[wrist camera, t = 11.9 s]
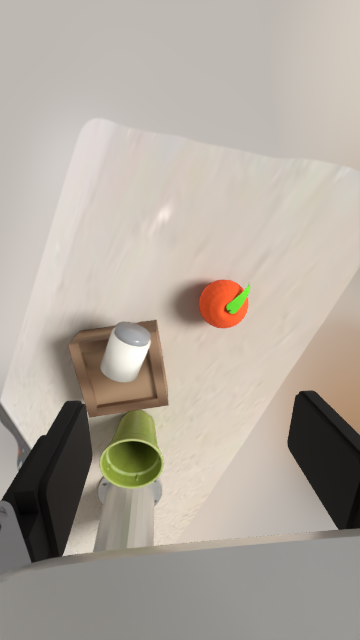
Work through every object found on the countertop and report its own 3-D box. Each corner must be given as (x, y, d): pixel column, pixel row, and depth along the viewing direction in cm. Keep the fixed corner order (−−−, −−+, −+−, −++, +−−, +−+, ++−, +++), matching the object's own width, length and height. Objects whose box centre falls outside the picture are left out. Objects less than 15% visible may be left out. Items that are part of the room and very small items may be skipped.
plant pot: (115, 447, 46) (106, 493, 38) (105, 405, 43) (93, 444, 35) (165, 440, 46) (167, 484, 38) (159, 398, 43) (159, 435, 35)
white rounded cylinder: (142, 382, 32) (158, 344, 30) (103, 381, 29) (118, 339, 27) (132, 359, 36) (146, 324, 34) (97, 356, 33) (110, 318, 31)
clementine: (224, 261, 37) (238, 266, 30) (253, 292, 39) (273, 304, 32) (186, 299, 38) (192, 312, 32) (216, 328, 40) (228, 346, 34)
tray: (167, 384, 43) (168, 405, 38) (98, 394, 43) (89, 417, 37) (156, 319, 39) (156, 332, 34) (80, 330, 39) (67, 344, 34)
